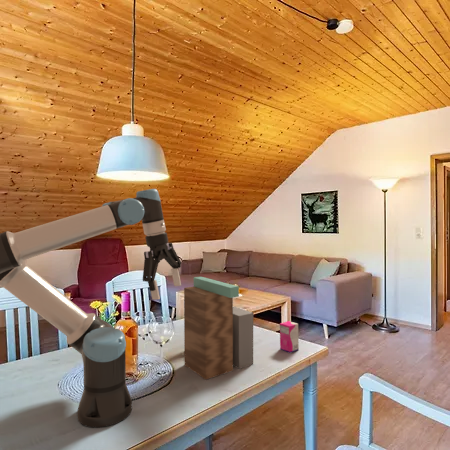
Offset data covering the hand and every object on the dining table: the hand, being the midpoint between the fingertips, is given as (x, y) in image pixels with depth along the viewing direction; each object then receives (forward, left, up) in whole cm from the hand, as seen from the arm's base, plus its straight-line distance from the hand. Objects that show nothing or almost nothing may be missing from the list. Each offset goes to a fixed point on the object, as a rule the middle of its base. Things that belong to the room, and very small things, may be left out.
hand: (167, 292), depth 125 cm
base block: (+28, -3, -31) cm, 42 cm away
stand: (+16, -2, -31) cm, 35 cm away
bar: (+16, -6, -1) cm, 17 cm away
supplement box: (+54, -7, -31) cm, 62 cm away
